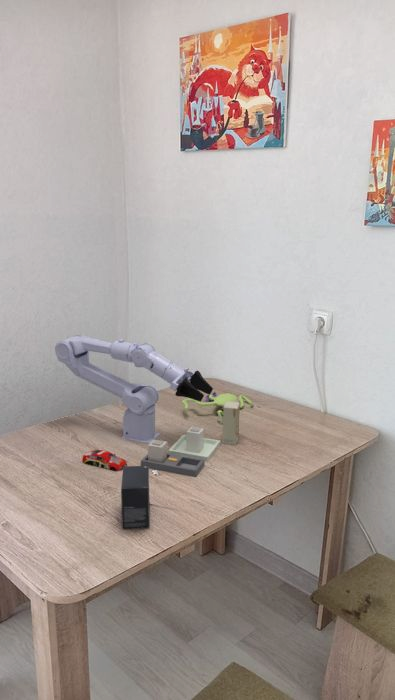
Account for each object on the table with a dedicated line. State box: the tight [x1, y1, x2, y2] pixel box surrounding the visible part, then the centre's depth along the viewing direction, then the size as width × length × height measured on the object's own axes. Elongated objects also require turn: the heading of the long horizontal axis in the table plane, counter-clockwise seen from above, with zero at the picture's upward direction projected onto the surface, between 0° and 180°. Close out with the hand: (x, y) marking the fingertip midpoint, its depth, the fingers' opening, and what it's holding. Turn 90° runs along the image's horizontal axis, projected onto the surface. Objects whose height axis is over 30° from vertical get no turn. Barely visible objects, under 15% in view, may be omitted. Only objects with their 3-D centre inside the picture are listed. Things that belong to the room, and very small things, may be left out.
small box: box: [120, 465, 151, 530], centre depth 130 cm, size 11×6×10 cm, turn 5°
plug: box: [185, 426, 205, 453], centre depth 164 cm, size 4×4×6 cm
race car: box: [82, 449, 128, 472], centre depth 155 cm, size 13×5×4 cm, turn 64°
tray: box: [167, 434, 222, 462], centre depth 165 cm, size 12×12×2 cm
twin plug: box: [147, 439, 168, 463], centre depth 155 cm, size 4×4×6 cm
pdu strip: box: [140, 452, 206, 478], centre depth 154 cm, size 16×7×3 cm, turn 70°
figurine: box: [181, 391, 254, 421], centre depth 197 cm, size 18×27×6 cm
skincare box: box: [221, 401, 241, 446], centre depth 170 cm, size 6×4×12 cm
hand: (207, 395), depth 162 cm, fingers open, 7 cm apart
